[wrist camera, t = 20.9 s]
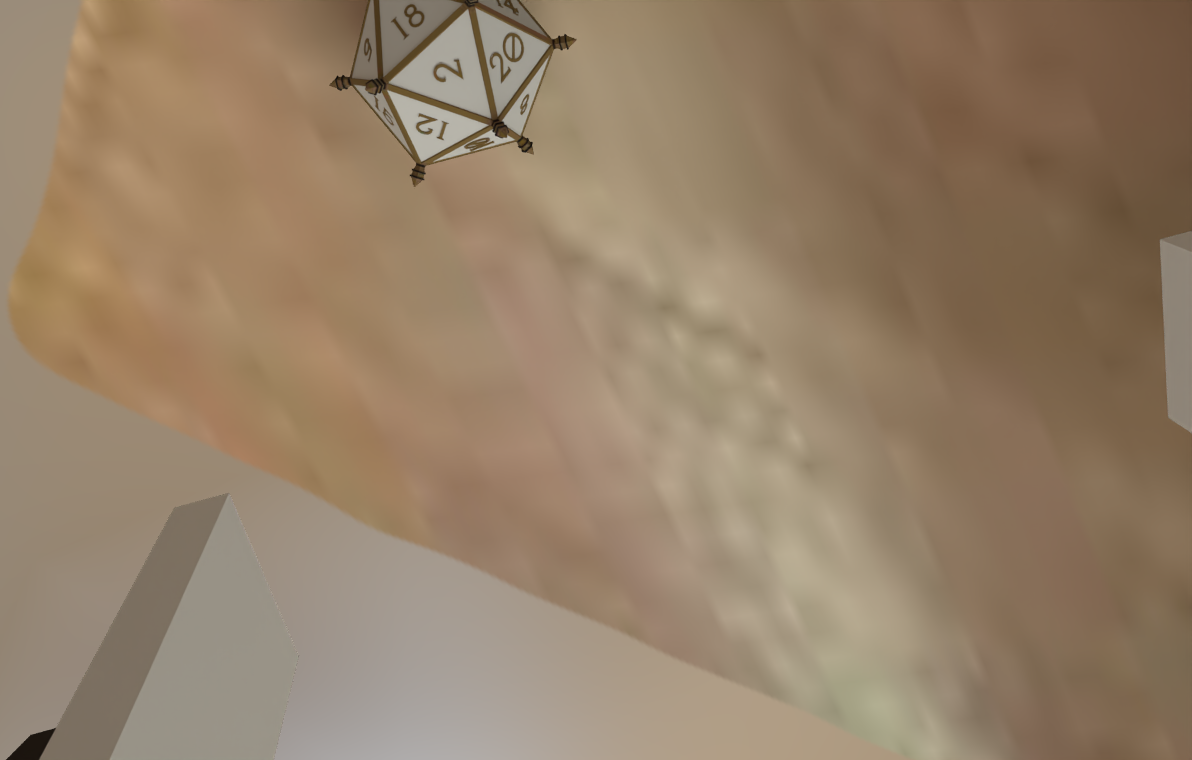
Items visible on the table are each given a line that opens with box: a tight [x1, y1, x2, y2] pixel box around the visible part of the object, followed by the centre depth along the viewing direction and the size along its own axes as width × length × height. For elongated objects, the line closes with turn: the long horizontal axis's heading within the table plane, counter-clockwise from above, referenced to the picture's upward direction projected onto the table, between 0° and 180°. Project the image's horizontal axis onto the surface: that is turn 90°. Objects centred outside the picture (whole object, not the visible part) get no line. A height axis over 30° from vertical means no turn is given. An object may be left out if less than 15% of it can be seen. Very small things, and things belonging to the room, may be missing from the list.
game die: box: [329, 0, 577, 187], centre depth 42 cm, size 9×8×10 cm
